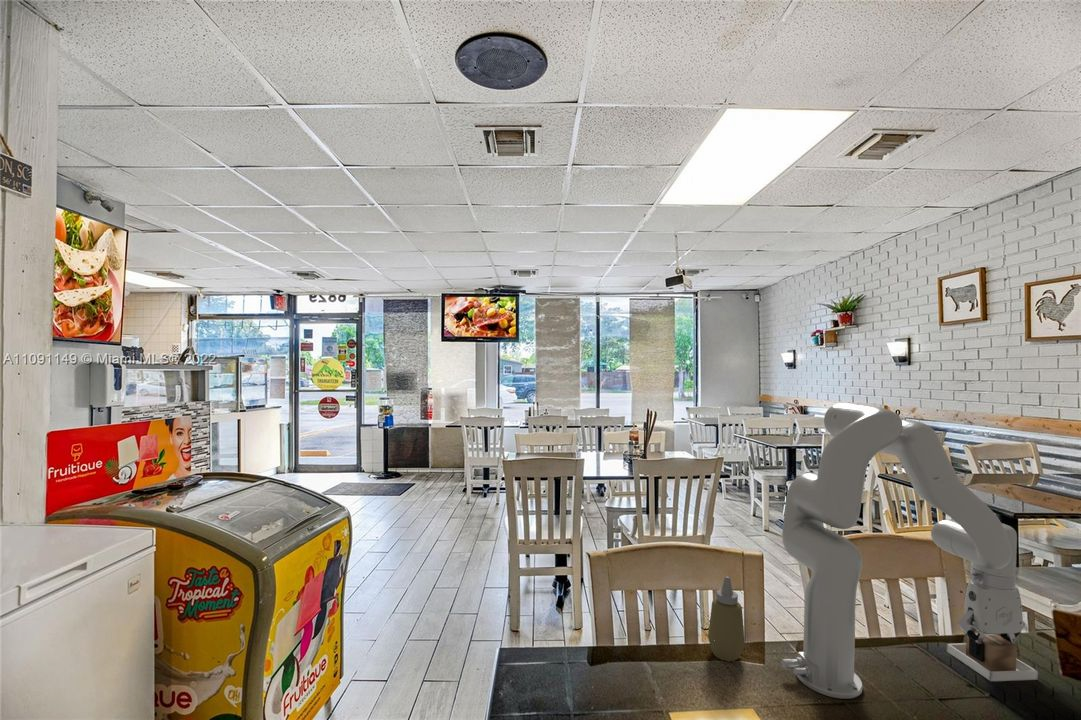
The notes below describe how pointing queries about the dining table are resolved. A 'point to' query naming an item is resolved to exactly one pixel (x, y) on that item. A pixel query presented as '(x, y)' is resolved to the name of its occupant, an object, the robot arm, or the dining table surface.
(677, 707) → the dining table surface
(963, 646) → the tray
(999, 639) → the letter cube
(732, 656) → the squeeze bottle
